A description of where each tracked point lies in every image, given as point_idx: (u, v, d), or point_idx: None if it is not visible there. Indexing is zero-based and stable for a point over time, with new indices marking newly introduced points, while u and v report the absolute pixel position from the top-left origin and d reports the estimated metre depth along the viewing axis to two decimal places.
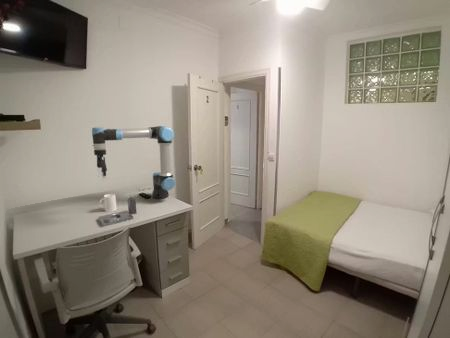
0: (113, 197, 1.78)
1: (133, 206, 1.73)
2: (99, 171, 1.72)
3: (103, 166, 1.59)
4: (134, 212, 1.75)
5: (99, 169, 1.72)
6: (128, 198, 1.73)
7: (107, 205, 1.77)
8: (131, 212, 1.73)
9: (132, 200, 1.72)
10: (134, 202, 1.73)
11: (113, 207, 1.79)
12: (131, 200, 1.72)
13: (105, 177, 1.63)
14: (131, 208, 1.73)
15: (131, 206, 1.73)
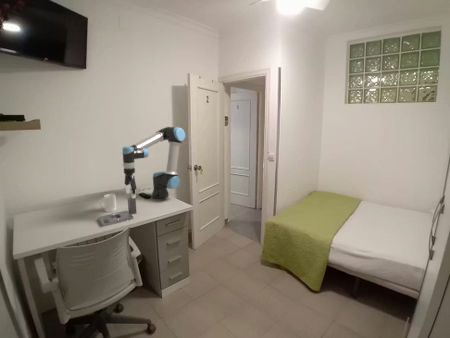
0: (113, 197, 1.78)
1: (133, 206, 1.73)
2: (127, 188, 1.77)
3: (133, 185, 1.64)
4: (134, 212, 1.75)
5: (127, 186, 1.76)
6: (128, 198, 1.73)
7: (107, 205, 1.77)
8: (131, 212, 1.73)
9: (132, 200, 1.72)
10: (134, 202, 1.73)
11: (113, 207, 1.79)
12: (131, 200, 1.72)
13: (134, 195, 1.67)
14: (131, 208, 1.73)
15: (131, 206, 1.73)
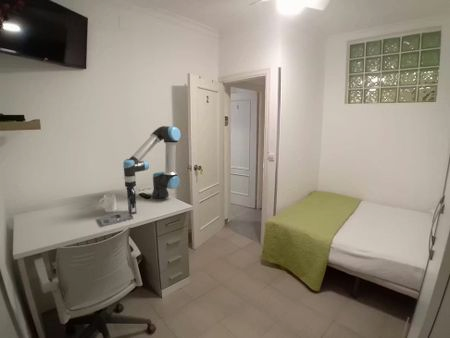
0: (113, 197, 1.78)
1: None
2: None
3: (133, 200, 1.69)
4: (134, 212, 1.75)
5: None
6: (128, 198, 1.73)
7: (107, 205, 1.77)
8: (131, 212, 1.73)
9: None
10: None
11: (113, 207, 1.79)
12: None
13: (134, 209, 1.73)
14: None
15: None
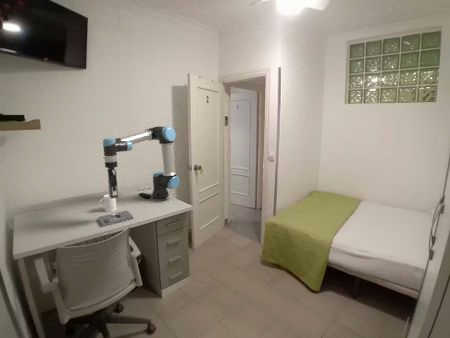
0: None
1: None
2: None
3: (114, 181, 1.54)
4: (115, 196, 1.60)
5: None
6: (109, 180, 1.59)
7: (107, 205, 1.77)
8: (112, 196, 1.59)
9: None
10: None
11: (113, 207, 1.79)
12: (111, 182, 1.57)
13: (115, 192, 1.59)
14: None
15: None
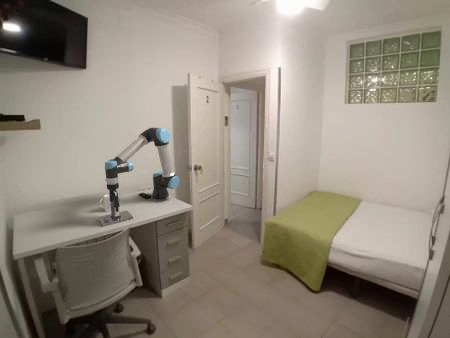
0: None
1: None
2: None
3: (116, 202, 1.56)
4: None
5: None
6: (111, 203, 1.62)
7: (107, 205, 1.77)
8: (114, 218, 1.62)
9: None
10: None
11: None
12: (113, 206, 1.60)
13: (117, 213, 1.60)
14: (114, 214, 1.62)
15: (114, 212, 1.61)
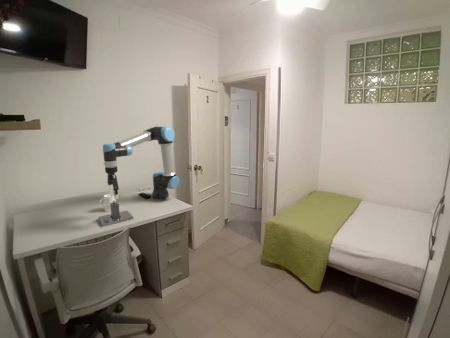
0: (113, 197, 1.78)
1: (116, 212, 1.62)
2: (110, 188, 1.65)
3: (115, 185, 1.52)
4: None
5: (110, 186, 1.65)
6: (111, 203, 1.62)
7: (107, 205, 1.77)
8: (114, 218, 1.62)
9: (115, 205, 1.61)
10: (117, 207, 1.62)
11: None
12: (113, 206, 1.60)
13: (117, 196, 1.56)
14: (114, 214, 1.62)
15: (114, 212, 1.61)
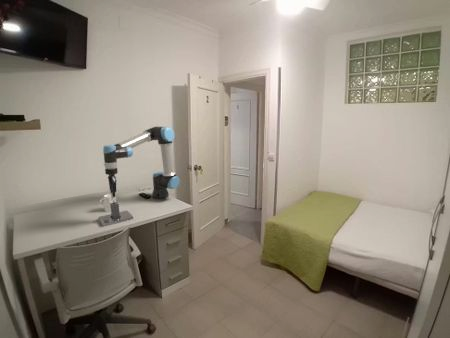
0: None
1: (116, 212, 1.62)
2: (112, 195, 1.61)
3: (113, 188, 1.56)
4: None
5: None
6: (111, 203, 1.62)
7: (107, 205, 1.77)
8: (114, 218, 1.62)
9: (115, 206, 1.61)
10: (117, 208, 1.62)
11: None
12: (113, 206, 1.60)
13: (114, 198, 1.61)
14: (114, 214, 1.62)
15: (114, 212, 1.61)
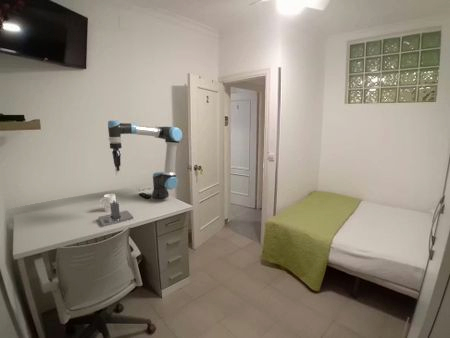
0: (113, 197, 1.78)
1: (116, 212, 1.62)
2: None
3: (117, 162, 1.63)
4: None
5: None
6: (111, 203, 1.62)
7: (107, 205, 1.77)
8: (114, 218, 1.62)
9: (115, 205, 1.61)
10: (117, 207, 1.62)
11: None
12: (113, 206, 1.60)
13: (118, 172, 1.68)
14: (114, 214, 1.62)
15: (114, 212, 1.61)
